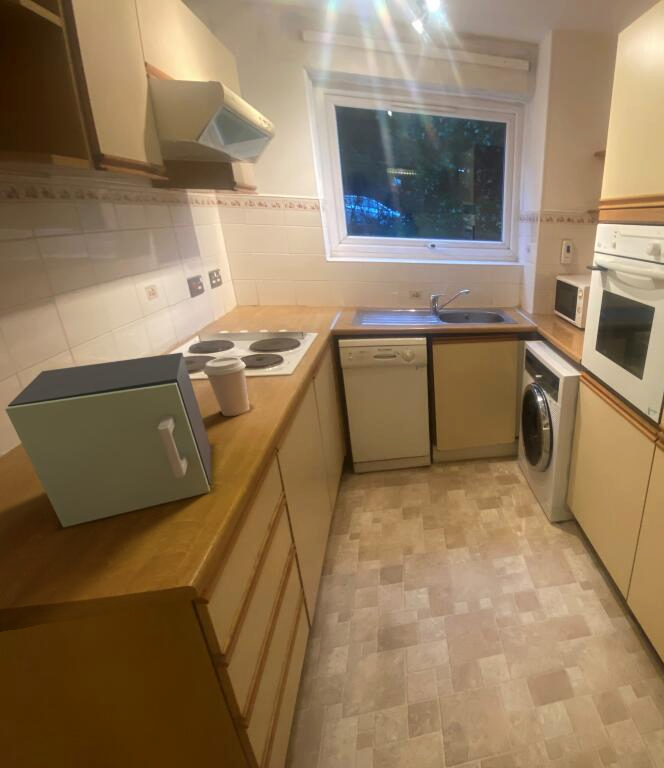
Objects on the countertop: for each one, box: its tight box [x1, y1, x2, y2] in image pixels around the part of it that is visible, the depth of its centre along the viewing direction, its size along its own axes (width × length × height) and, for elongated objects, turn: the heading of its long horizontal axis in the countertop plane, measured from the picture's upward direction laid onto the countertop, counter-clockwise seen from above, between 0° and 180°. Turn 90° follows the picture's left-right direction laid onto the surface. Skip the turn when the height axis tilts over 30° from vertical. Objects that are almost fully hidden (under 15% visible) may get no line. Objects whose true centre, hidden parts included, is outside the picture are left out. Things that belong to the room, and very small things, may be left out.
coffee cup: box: [203, 356, 251, 417], centre depth 118 cm, size 10×10×15 cm
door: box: [4, 383, 211, 528], centre depth 75 cm, size 7×22×24 cm, turn 119°
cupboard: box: [7, 352, 211, 486], centre depth 86 cm, size 18×22×24 cm
